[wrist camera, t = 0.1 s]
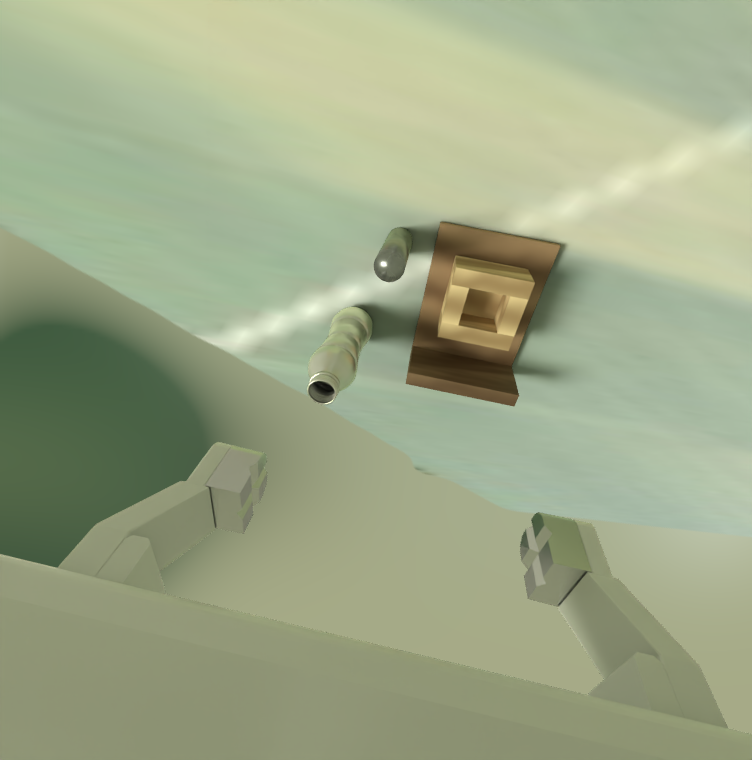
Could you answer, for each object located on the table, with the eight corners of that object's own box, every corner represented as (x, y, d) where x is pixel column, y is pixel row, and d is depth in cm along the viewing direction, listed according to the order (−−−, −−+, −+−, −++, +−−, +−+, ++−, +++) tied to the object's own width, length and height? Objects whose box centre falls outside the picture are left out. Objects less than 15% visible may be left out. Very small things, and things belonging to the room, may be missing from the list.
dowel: (389, 225, 54) (376, 248, 44) (414, 230, 54) (407, 254, 44) (385, 251, 56) (371, 278, 46) (409, 255, 56) (401, 284, 46)
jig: (440, 221, 53) (439, 237, 46) (558, 243, 52) (577, 264, 45) (410, 353, 65) (405, 383, 57) (506, 373, 64) (514, 406, 57)
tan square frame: (455, 255, 54) (456, 267, 49) (527, 269, 54) (535, 282, 49) (438, 320, 60) (437, 336, 55) (503, 333, 59) (508, 351, 55)
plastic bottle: (383, 322, 62) (360, 394, 46) (355, 347, 66) (324, 422, 49) (354, 294, 61) (319, 358, 44) (326, 320, 64) (284, 390, 47)
